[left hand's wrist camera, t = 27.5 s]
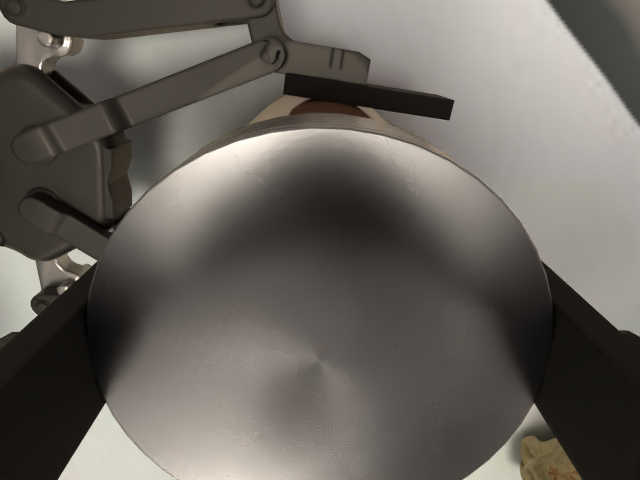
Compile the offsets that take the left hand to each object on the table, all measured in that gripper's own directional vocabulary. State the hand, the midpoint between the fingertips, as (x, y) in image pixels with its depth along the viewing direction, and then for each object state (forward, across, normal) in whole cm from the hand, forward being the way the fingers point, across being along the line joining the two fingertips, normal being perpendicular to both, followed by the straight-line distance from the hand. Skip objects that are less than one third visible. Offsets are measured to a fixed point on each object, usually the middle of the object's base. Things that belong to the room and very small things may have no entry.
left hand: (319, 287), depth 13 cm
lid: (-3, 0, 0) cm, 3 cm away
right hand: (+7, -4, 0) cm, 9 cm away
